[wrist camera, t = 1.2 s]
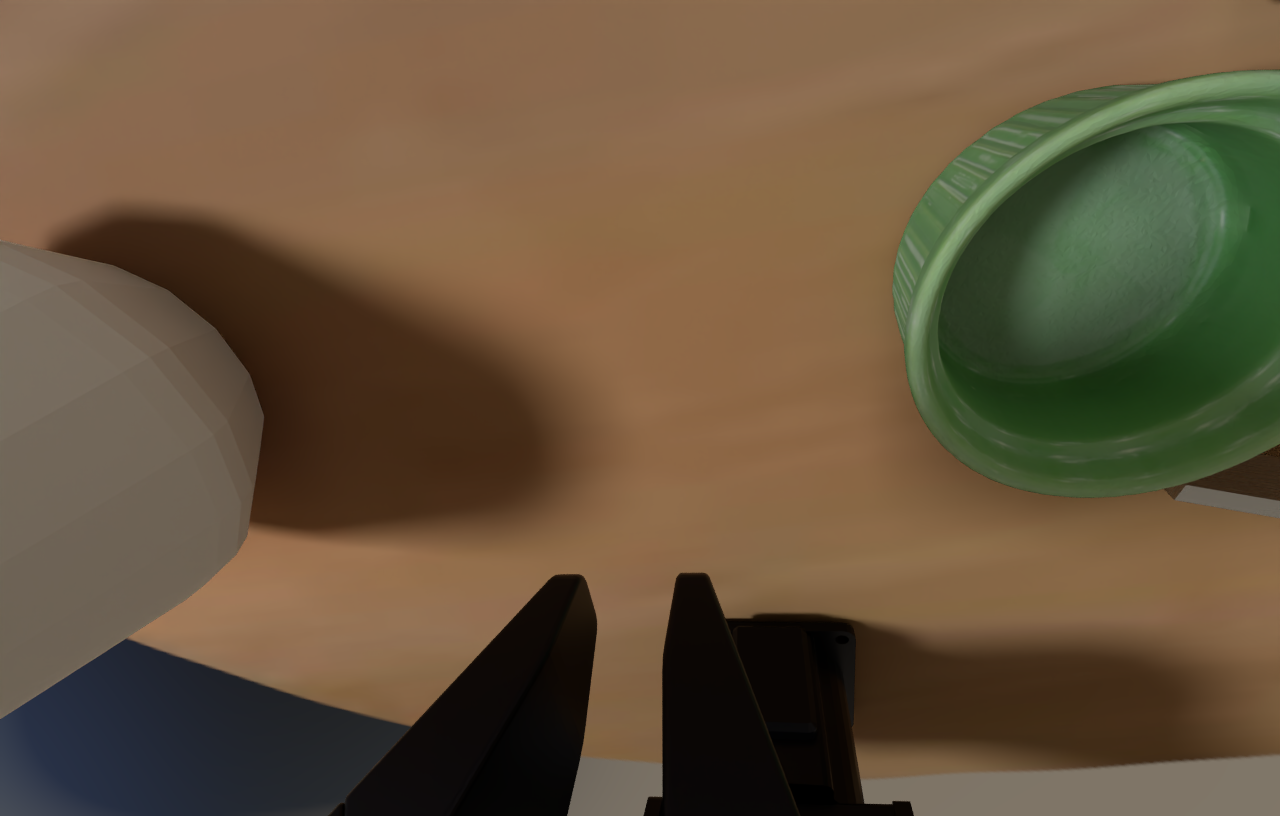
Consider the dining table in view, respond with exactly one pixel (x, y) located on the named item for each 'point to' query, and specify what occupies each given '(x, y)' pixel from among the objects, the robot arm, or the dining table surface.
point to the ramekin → (1103, 289)
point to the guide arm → (1237, 487)
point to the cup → (109, 460)
